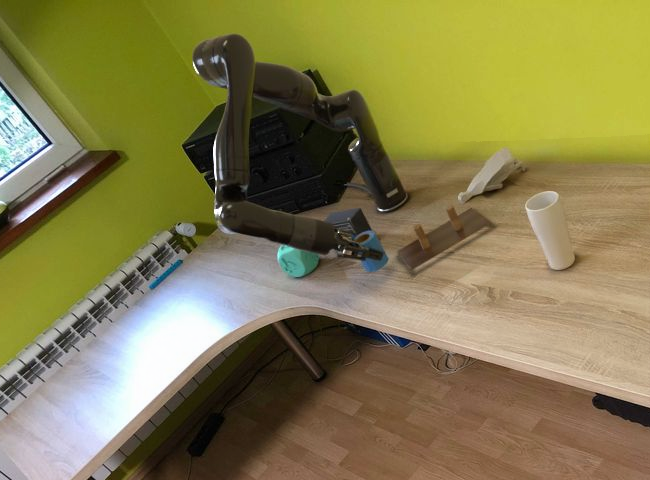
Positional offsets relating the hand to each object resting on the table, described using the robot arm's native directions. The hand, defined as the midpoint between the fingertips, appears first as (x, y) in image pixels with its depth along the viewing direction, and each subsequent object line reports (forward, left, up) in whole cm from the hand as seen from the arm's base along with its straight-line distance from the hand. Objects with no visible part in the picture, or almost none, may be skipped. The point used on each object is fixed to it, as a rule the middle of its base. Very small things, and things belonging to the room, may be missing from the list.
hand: (377, 251), depth 150 cm
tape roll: (0, -2, -3) cm, 3 cm away
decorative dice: (-28, -18, -7) cm, 34 cm away
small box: (-22, -3, -7) cm, 23 cm away
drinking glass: (+33, +29, -7) cm, 45 cm away
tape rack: (0, +15, -7) cm, 17 cm away
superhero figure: (-12, +35, -7) cm, 38 cm away
